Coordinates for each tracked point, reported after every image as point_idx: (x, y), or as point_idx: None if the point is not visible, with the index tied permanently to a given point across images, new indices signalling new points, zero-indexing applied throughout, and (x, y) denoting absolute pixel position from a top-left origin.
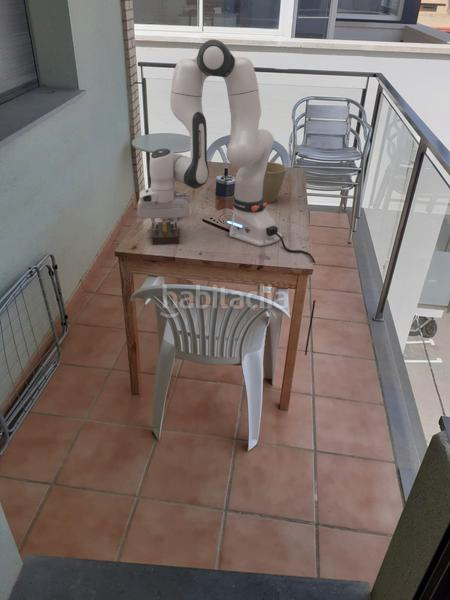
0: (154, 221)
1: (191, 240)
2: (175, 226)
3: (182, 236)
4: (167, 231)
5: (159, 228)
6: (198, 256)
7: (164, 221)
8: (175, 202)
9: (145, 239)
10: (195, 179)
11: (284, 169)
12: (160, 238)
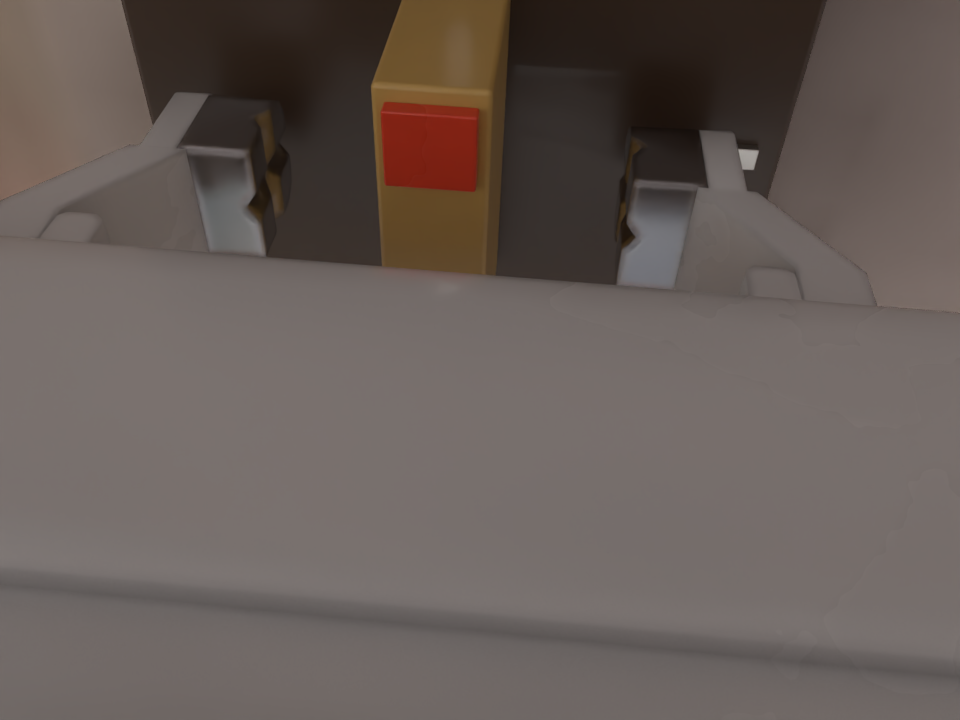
0: (141, 242)
1: (949, 288)
2: (776, 11)
3: (849, 111)
4: (515, 245)
5: (325, 69)
6: None
7: (437, 249)
8: None
9: (92, 123)
10: None
11: None
12: None
